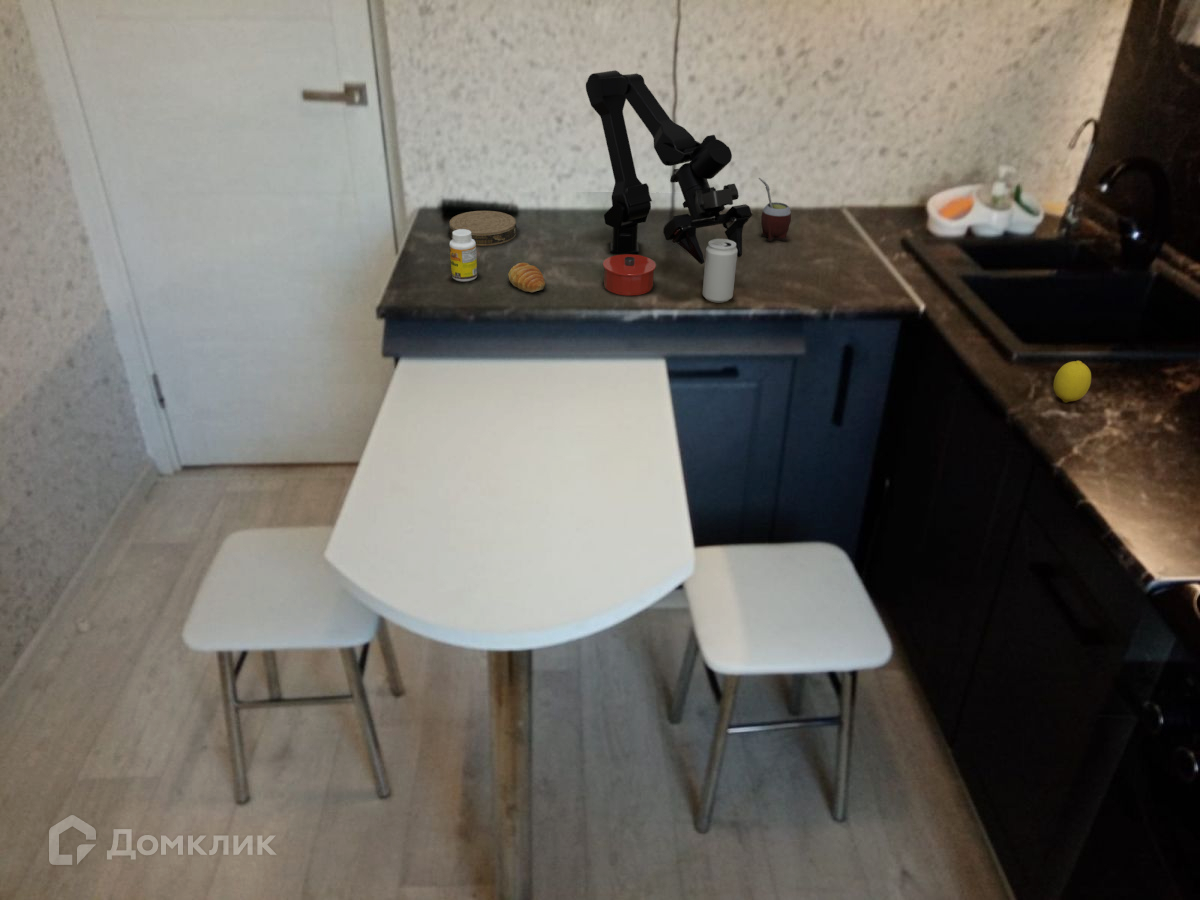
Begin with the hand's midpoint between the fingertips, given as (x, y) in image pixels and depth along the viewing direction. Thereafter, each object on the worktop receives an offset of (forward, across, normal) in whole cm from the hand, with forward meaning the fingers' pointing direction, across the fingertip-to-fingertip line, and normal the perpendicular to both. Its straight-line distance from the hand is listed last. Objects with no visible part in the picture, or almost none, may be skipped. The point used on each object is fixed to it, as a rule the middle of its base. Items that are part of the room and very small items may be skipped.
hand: (721, 259), depth 186 cm
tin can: (-34, -30, +46) cm, 64 cm away
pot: (-4, -14, +16) cm, 21 cm away
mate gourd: (-11, +32, +23) cm, 41 cm away
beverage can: (+6, 0, +6) cm, 9 cm away
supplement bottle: (-17, -44, +29) cm, 55 cm away
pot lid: (-7, -14, +12) cm, 20 cm away
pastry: (-10, -33, +23) cm, 41 cm away
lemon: (+50, +30, -38) cm, 70 cm away
